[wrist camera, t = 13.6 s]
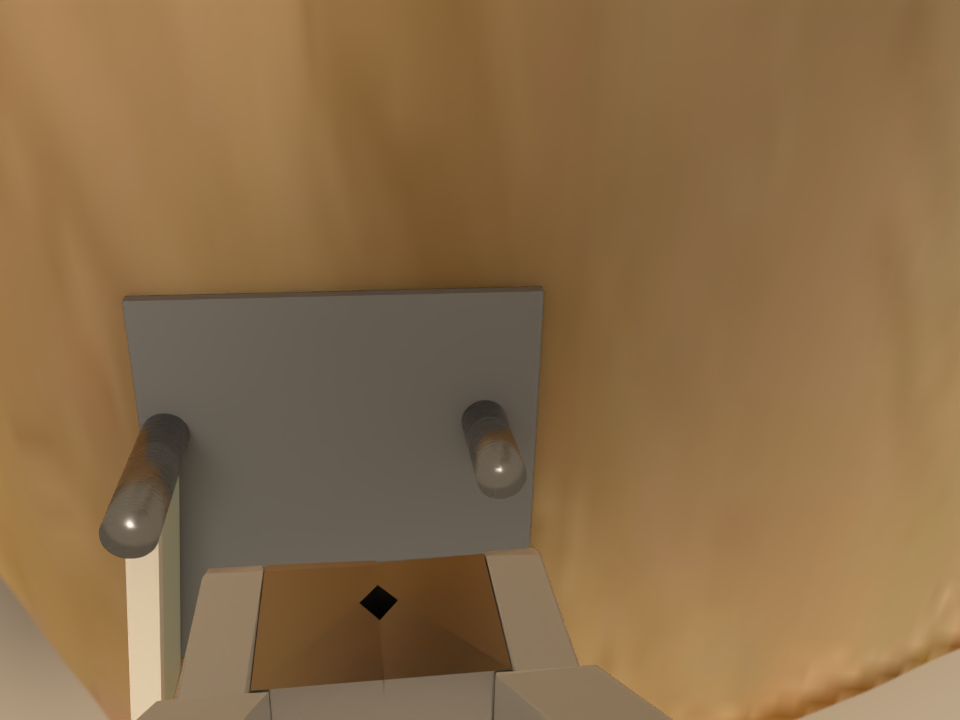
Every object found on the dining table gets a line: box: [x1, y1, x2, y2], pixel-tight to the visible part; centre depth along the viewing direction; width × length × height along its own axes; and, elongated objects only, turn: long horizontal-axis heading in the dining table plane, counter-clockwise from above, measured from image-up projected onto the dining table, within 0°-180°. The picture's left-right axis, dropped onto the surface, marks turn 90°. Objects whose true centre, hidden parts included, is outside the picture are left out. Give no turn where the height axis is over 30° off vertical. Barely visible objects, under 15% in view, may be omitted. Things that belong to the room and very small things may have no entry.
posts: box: [99, 400, 527, 559], centre depth 36 cm, size 16×2×8 cm, turn 88°
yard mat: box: [122, 287, 544, 658], centre depth 41 cm, size 17×18×1 cm
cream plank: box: [125, 476, 181, 720], centre depth 38 cm, size 11×1×5 cm, turn 173°
